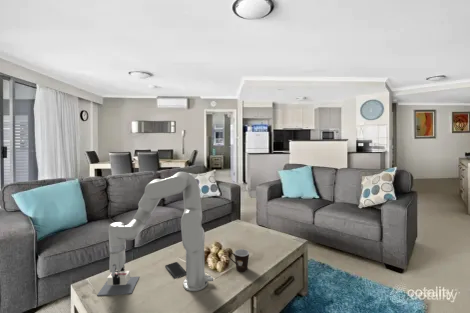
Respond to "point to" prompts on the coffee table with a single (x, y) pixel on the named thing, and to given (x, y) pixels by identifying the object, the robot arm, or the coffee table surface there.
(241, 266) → the coffee mug
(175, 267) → the phone
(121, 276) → the card box
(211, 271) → the coffee table surface
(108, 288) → the mat
